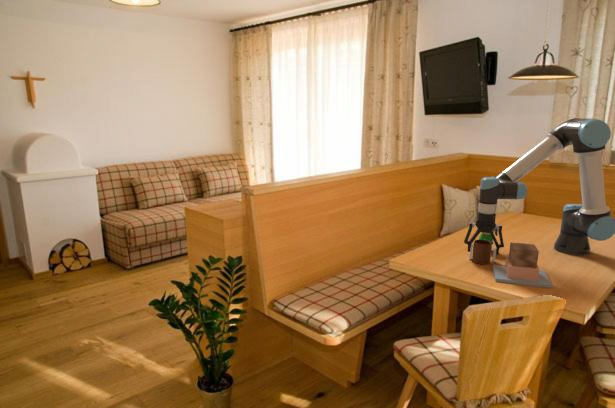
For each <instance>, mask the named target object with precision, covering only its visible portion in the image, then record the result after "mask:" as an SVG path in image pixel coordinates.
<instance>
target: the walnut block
mask: <svg viewBox="0 0 615 408" xmlns="http://www.w3.org/2000/svg"><path fill="white" fill-rule="evenodd" d="M508 252H509V253H508V257H509V260H510V263H511V265H512V266H521V267H531V268H537V265H538V261H539V260H538V259H539V252H540V251H539V249H538V248H537V245H536V244H534V243H533V244H532V243H523V242H509V251H508Z"/></svg>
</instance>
